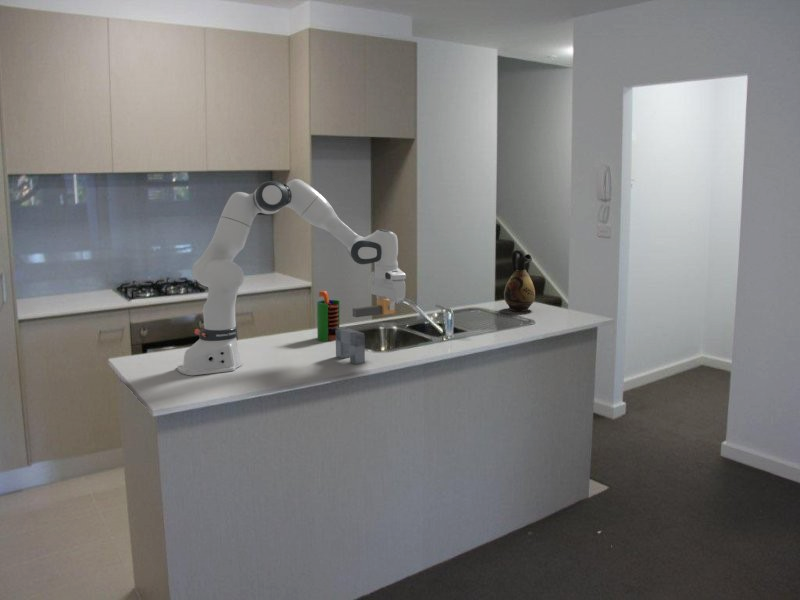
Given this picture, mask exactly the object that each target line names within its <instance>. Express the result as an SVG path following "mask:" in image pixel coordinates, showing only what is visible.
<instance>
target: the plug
mask: <svg viewBox="0 0 800 600" xmlns="http://www.w3.org/2000/svg"><path fill="white" fill-rule="evenodd" d="M389 304H390V301H389V298H382V299H378V300H377V299H376V305H369V306H362V307H353V308H352V317H353V318H362V317H370V316H379V315H385V316H386V315H392V314H394V315H395V314H396V304H395V305H394V310H388V305H389Z"/></svg>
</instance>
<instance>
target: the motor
mask: <svg viewBox="0 0 800 600" xmlns="http://www.w3.org/2000/svg"><path fill="white" fill-rule="evenodd" d="M318 297H322V298H323V299H321V300H318V301H316V303H317V304H316V305H317V306H316V309H317V312H316V313H317V315H316V317H317V321H316V323H317V326H316V327H317V333H316V334H317V340H318V341H320V342H326V341H328V342H332V341H331V340H335V341H336V328H339V327H340V300H339V299H330V298H329V294H328V291H326V290H321V291H319V293H318Z"/></svg>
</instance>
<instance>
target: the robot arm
mask: <svg viewBox="0 0 800 600" xmlns="http://www.w3.org/2000/svg"><path fill="white" fill-rule="evenodd" d="M283 208H288V209H291V210H292V211H294V212H295V213H296V214H297V215H298V216H299V217H300V218H301V219H303V220H304V221H306V222H307V223H309V224H310V225H312V226H313V227H315V228H317V229H318V228H319V229H322V230H325V231H327V232H328V233H330V234H331V235H332V236H333V237H335V239H336V240H338V241H339V242H340V243H342V244H343V245H344V246H345V248H346V249H347V252H348V254H349V256H350V257H351V259H352V261H354V262H355V263H356V264H358V265H362V266H364V265H370V264H373V263H374V269H373V270H372V272H370V276H369V280H368V293H369V294H370V295H374V296H376V301H377V300H378V299H387V298H388V299H389V301H390V304H389V305H388V310H394V305H395V306H396V302H397V301H404V300H405V298H406V291H407V290H406V286H407V285H406V282H405V280H406V279H407V275H406V273H405V272H404V271H402V269H400V267H399V262H398V255H399V241H398V240H399V239H398V236H397V234H396V233H395V232H394V231H392V230H389V229H383V228H378V229H376V230H375V231H373V232H372V233H371V234H369V235H366V236H365V235H362V234H358V233H356V232H355V231H354V230H353V229H351V228H350V226H348V225H347V224H346V223H344V221H343V220H341V219H340V218H339V216H338V215H337V213H336V211H335V210H334V208H333V206H332V205H331V204H330V202H329V201H328V199H326V198H325V197H324V196H323V195H322V194H321V193H320V192H319V191H317V190H316V189H315V188H314V187H312V186H311V185H309V183H307V182H305V181H303V180H301V179H299V178H295V179H291V180H289V181H288V182H287V183H282V182H278V181H273V180H272V181H271V180H270V181H269V180H268V181H265V182H262V183H261V184H260V185H259V186H257V187H256V189H255V190H254V191H253V192H252V193H247V192H244V191H235V192H233V193H231V195H230V197H229V198H228V200H227V202H226V204H225V205H224V208H223V210H222V211H221V215H220V217H219V219H218V223H217V226H216V229H215V232H214V234H213V237H212V239H211V240H210V242H209V244H208V246H207V247H206V249H205V250H204V252H203V253H202V255H201V257H200V258H198V259H196V261H195V262H194V264H193V265H192V267H191V269H192V270H191V272H192V276H193V279H194V280H195V281H197V283H198V284H200V285H202V286H203V287H207V288H208V290H207V291H208V292H207V298H206V301H205V303H204V305H203V307H202V308H203V309H202V310H203V313H202V314H203V328H202V329H199V328H196V329H194V334H195V335H197V336H199V339H198V340H197V341H195V343H193V344H192V345H191V346H190V347H189V348H187V349H186V350H185V352H184V355H183V363H180V364H178V365H177V368H176V369H177V371H178V372H180V373H181V374H183V375H186V376H198V375H208V374H216V373H217V374H219V373H226V372H233V371H235V370H236V369H237V368H239V367H241V366H242V365H243V362H242V359H241V356H240V351H239V346H238V339H239V337H238V336H239V333H238V326H237V324H236V303H237V298H238V297H237V296H238V291H239V289H240V287H241V286H242V284H243V282H244V280H245V279H244V278H245V273H244V271H243V268H242V267H241V266H239V264H238V263H235V262H234V259H235V258H236V257H237V255H238V254H239V252H241V251H242V250H243V249H244V248H245V245H246V242H247V239H248V236H249V233H250V231H251V228H252V225H253V222H254V219H255V217H256V216H257V215H259V216H272V215H274V214H276V213H278V212H279V211H280V210H281V209H283Z"/></svg>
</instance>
